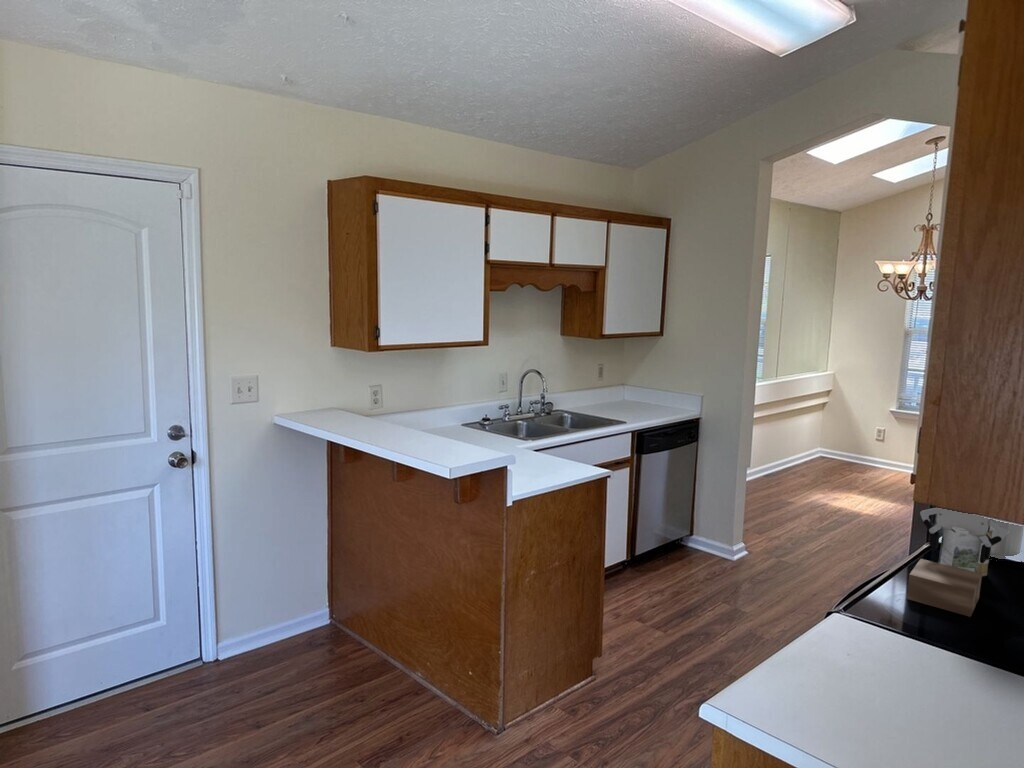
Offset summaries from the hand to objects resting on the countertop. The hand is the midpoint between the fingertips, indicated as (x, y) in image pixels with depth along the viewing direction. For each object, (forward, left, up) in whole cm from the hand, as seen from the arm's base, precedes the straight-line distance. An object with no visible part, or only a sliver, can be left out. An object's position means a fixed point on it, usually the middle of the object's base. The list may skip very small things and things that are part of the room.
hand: (958, 555), depth 158 cm
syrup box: (-1, 0, -7) cm, 7 cm away
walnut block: (+10, 0, -8) cm, 13 cm away
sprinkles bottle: (-12, +2, -7) cm, 14 cm away
